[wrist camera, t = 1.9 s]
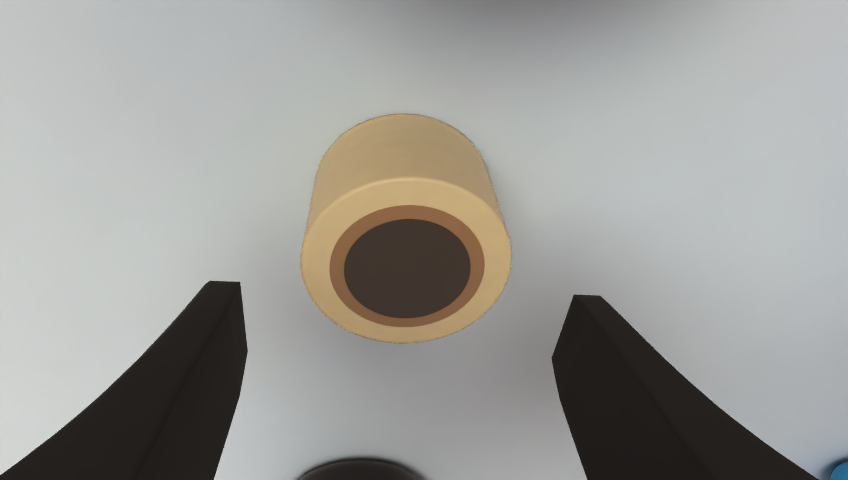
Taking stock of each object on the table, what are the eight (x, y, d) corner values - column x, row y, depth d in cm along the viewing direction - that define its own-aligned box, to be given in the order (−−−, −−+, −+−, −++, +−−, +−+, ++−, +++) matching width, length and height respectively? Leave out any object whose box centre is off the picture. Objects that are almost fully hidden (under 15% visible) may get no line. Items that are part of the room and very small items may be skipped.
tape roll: (524, 184, 16) (556, 258, 13) (412, 287, 19) (418, 372, 16) (390, 73, 14) (393, 133, 11) (279, 206, 16) (257, 286, 13)
